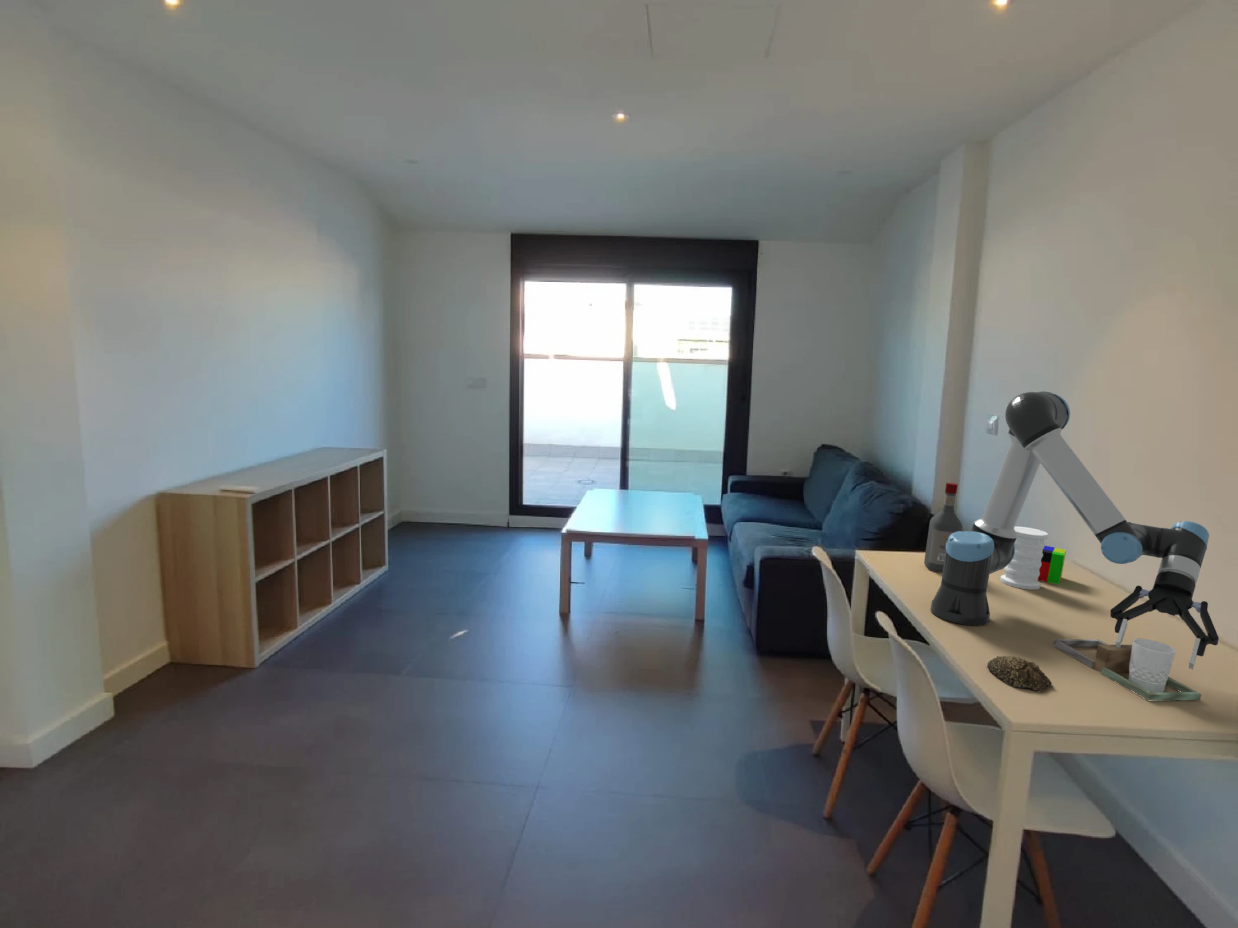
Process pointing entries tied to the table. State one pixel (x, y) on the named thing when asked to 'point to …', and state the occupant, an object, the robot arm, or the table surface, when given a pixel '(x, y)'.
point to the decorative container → (1025, 559)
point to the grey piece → (1121, 667)
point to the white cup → (1150, 664)
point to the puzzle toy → (1052, 564)
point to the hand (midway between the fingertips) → (1153, 655)
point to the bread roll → (1019, 673)
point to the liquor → (942, 530)
